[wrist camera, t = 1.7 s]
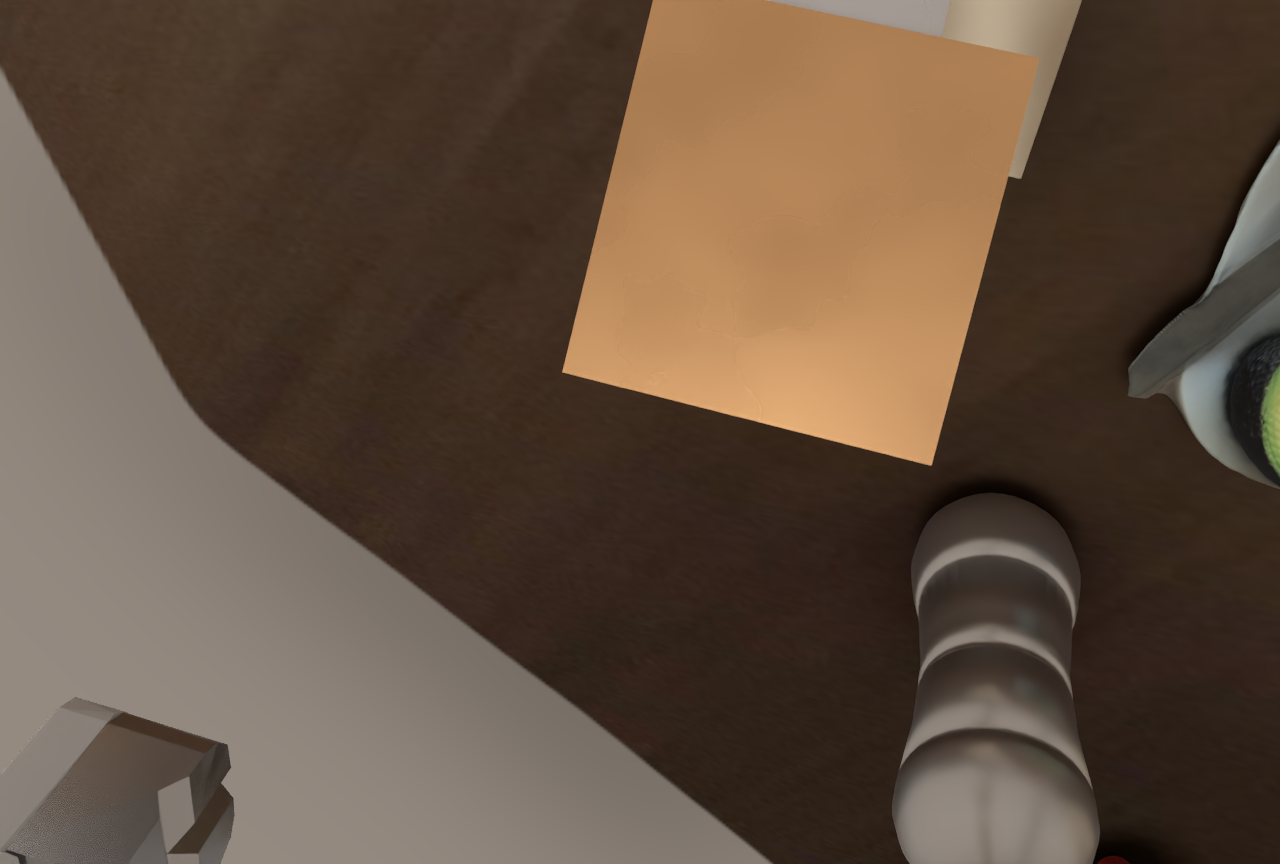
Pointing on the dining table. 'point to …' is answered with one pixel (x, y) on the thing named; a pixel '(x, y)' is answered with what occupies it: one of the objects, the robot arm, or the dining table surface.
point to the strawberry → (1113, 860)
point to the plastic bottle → (995, 693)
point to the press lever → (802, 215)
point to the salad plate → (1230, 344)
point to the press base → (1018, 47)
